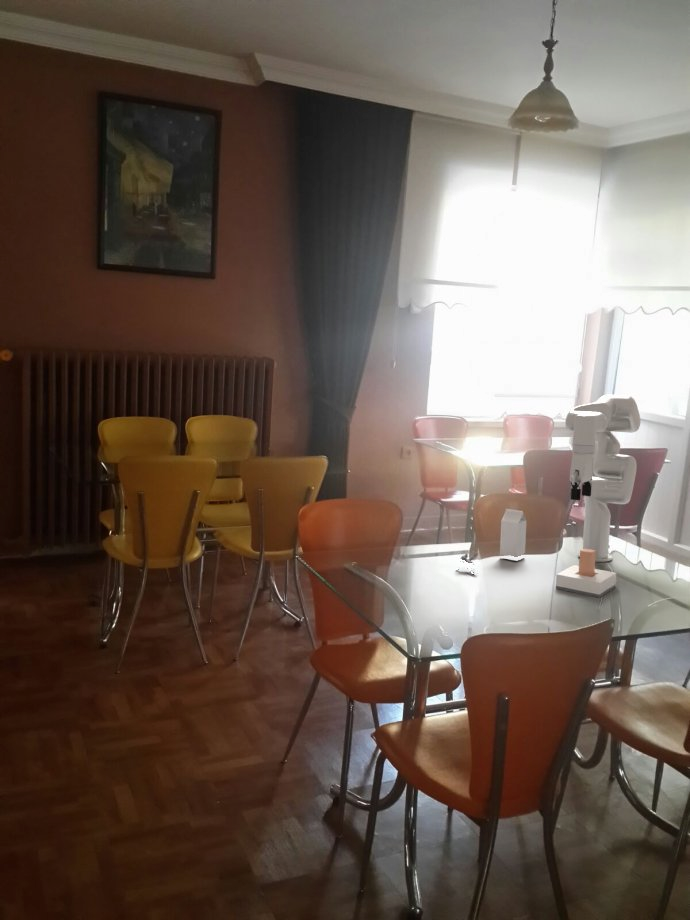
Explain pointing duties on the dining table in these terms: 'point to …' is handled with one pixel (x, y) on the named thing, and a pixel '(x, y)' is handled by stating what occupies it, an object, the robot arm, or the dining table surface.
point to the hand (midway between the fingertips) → (580, 497)
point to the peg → (587, 562)
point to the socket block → (586, 581)
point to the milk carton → (513, 533)
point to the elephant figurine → (469, 558)
